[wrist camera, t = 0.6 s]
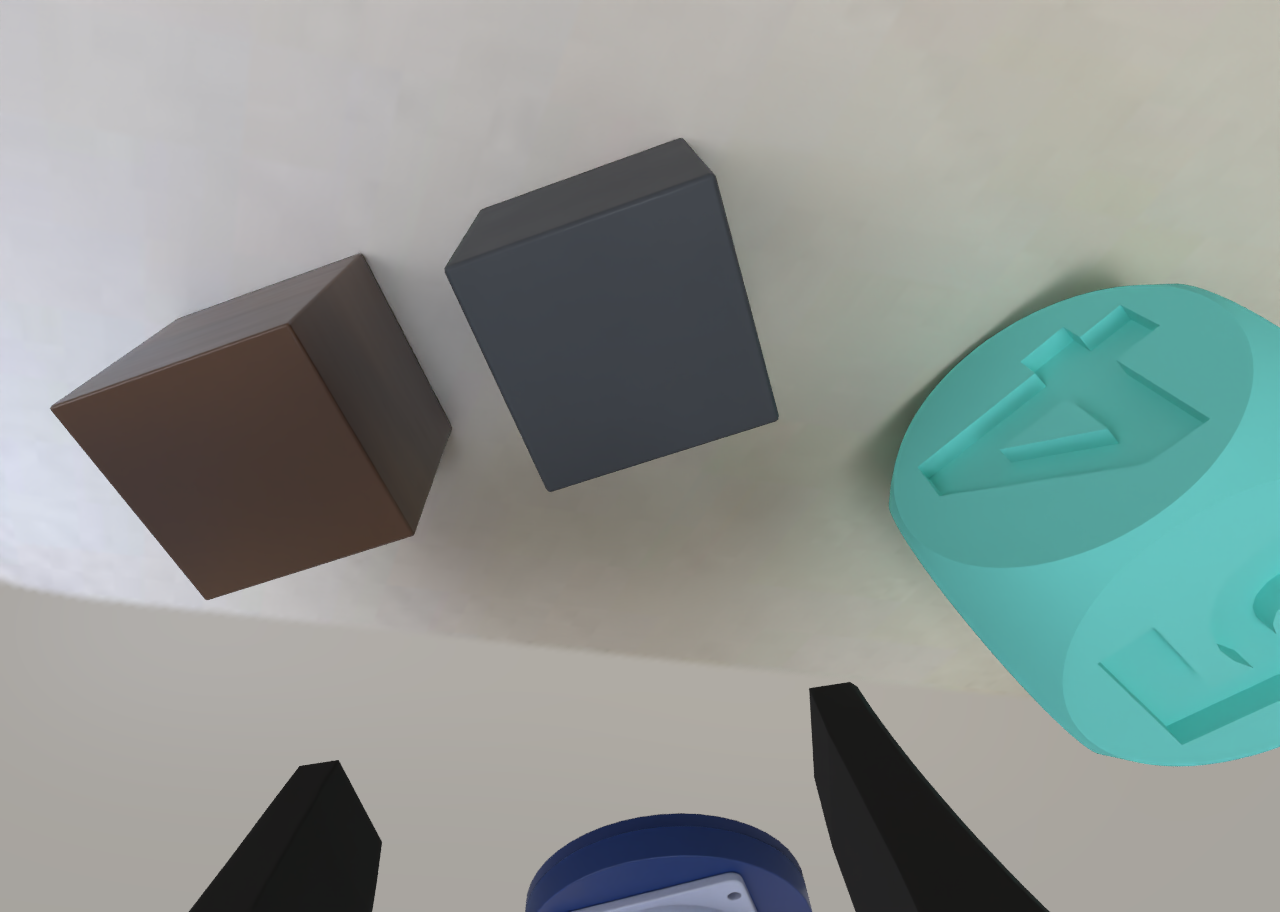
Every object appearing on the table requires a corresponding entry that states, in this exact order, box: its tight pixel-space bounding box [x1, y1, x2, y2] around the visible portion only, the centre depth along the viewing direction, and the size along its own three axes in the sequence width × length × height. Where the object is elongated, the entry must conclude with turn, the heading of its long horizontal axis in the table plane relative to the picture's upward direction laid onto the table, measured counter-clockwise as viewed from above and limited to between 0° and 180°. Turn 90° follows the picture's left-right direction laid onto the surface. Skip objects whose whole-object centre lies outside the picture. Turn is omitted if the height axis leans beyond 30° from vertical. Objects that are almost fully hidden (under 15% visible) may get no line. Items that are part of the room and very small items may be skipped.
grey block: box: [445, 138, 779, 492], centre depth 16 cm, size 5×5×5 cm
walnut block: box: [50, 254, 452, 600], centre depth 17 cm, size 5×5×5 cm
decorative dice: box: [889, 284, 1280, 766], centre depth 18 cm, size 8×8×8 cm
